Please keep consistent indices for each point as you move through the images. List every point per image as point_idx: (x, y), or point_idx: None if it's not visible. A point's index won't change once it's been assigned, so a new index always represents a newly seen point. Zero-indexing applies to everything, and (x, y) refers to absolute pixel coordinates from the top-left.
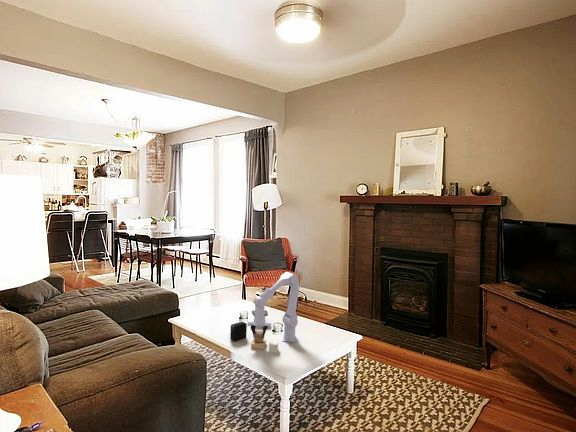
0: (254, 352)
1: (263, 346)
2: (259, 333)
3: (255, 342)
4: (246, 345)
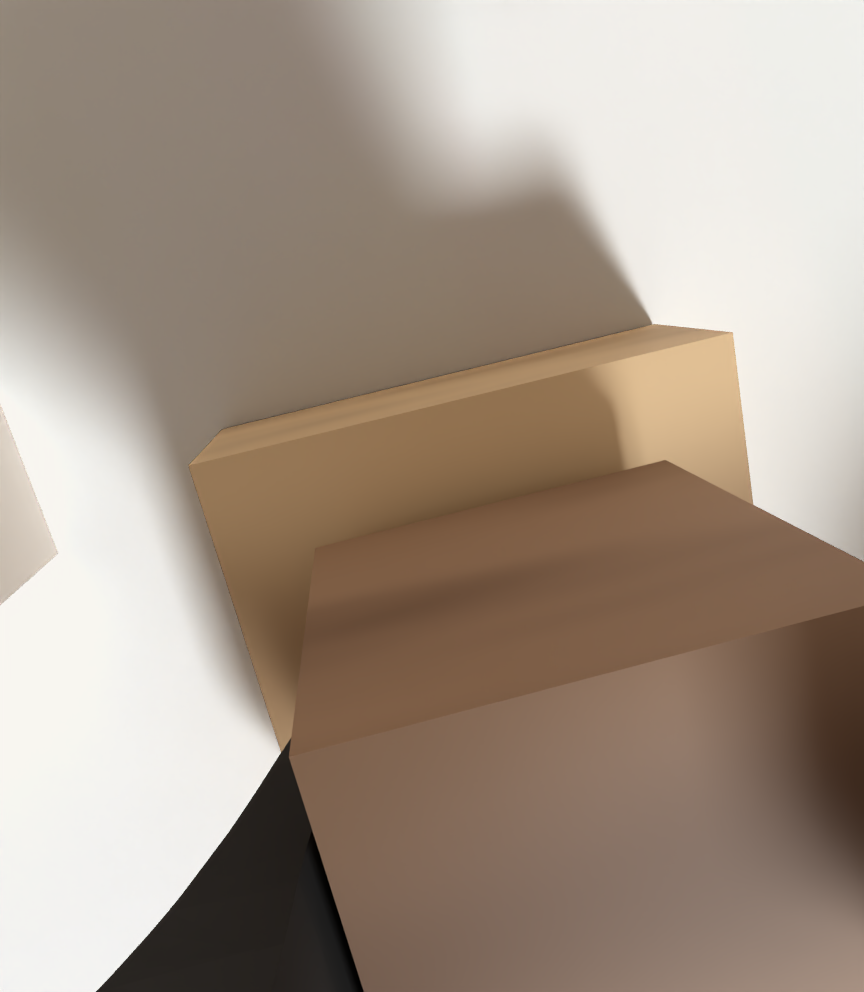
0: (418, 40)
1: (227, 444)
2: (557, 787)
3: None
4: (859, 472)
